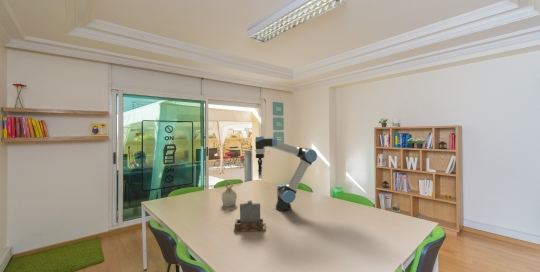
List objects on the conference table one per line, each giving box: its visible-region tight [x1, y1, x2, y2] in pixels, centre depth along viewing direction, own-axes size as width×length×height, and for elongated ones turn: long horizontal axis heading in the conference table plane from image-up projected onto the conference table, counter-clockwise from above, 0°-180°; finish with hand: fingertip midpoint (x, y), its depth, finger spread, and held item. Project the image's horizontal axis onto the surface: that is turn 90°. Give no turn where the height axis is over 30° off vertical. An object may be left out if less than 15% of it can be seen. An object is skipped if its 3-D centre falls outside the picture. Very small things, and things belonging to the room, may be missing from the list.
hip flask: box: [239, 200, 261, 223], centre depth 182 cm, size 16×4×20 cm, turn 92°
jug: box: [221, 180, 238, 208], centre depth 241 cm, size 15×16×25 cm
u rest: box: [233, 218, 267, 233], centre depth 182 cm, size 24×12×6 cm, turn 92°
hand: (260, 177), depth 209 cm, fingers open, 13 cm apart
